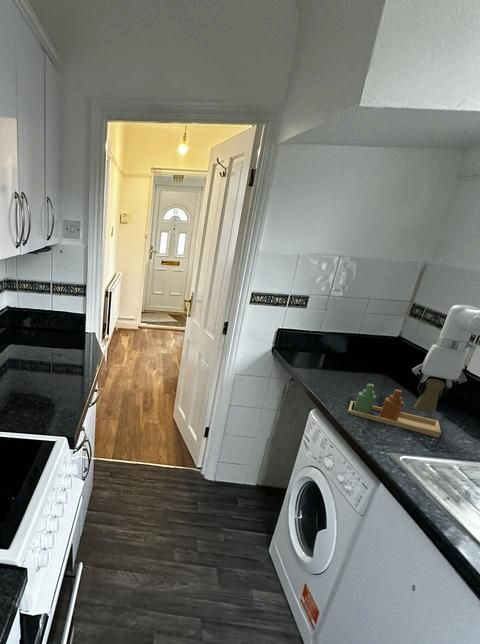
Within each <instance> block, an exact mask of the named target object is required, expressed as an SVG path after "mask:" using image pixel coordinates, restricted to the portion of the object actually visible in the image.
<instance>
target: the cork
mask: <svg viewBox="0 0 480 644" xmlns="http://www.w3.org/2000/svg"><path fill="white" fill-rule="evenodd" d="M425 383H426V385H425V387H424V390H423V392H422V394H420V396H419V397H418V399H417V401H416V402H415V404H414V405H413V408H414V409H415V410H416V411H419V412H422V413H426V414H435V412H436V408H437V406H438V401H439V398H440V393H441V391H442V390H443V388H444V386H445V384H446V383H445V382H444V381H443V380H440V379H436V378H428V379H427V380H426V382H425Z"/></svg>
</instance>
